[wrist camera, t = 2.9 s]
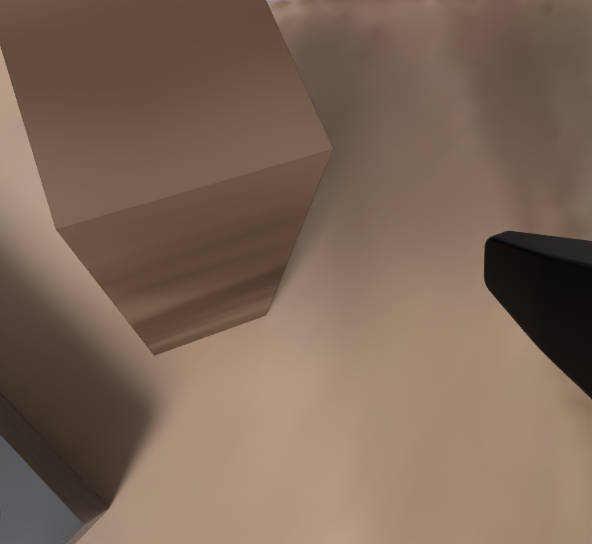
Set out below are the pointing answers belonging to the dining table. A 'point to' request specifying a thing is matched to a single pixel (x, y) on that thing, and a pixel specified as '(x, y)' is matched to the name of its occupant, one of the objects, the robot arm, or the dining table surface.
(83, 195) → the keyed plug
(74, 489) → the hub block
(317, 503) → the dining table surface
